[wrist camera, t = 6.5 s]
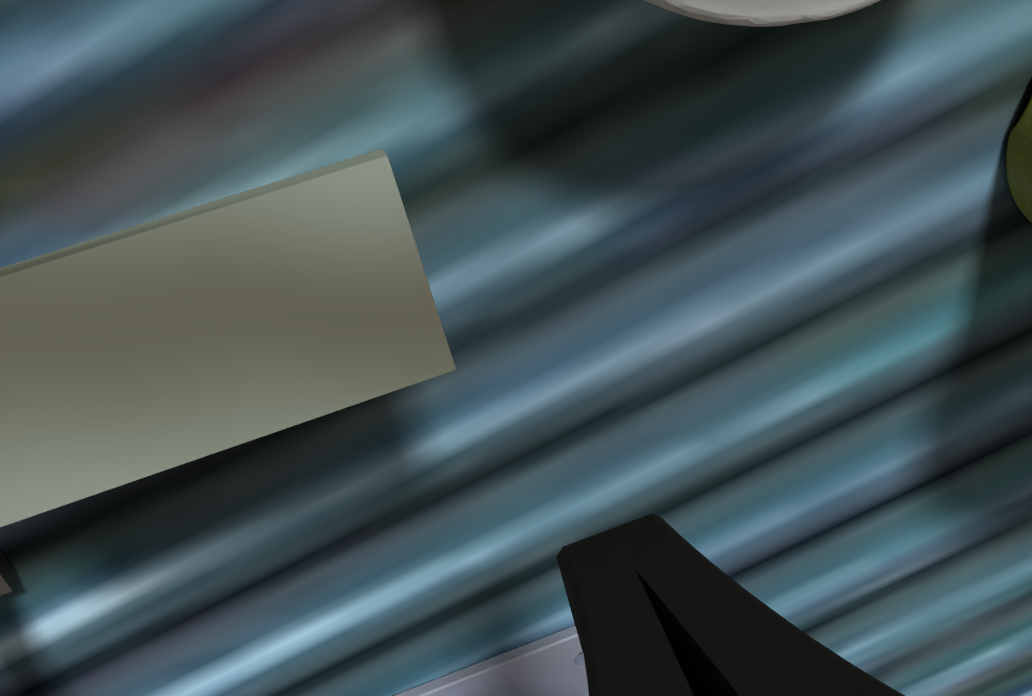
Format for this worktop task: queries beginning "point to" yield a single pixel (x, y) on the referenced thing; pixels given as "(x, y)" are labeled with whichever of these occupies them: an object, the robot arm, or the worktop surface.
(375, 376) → the lever
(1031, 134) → the plant pot
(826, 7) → the ramekin
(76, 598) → the worktop surface
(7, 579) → the fulcrum
